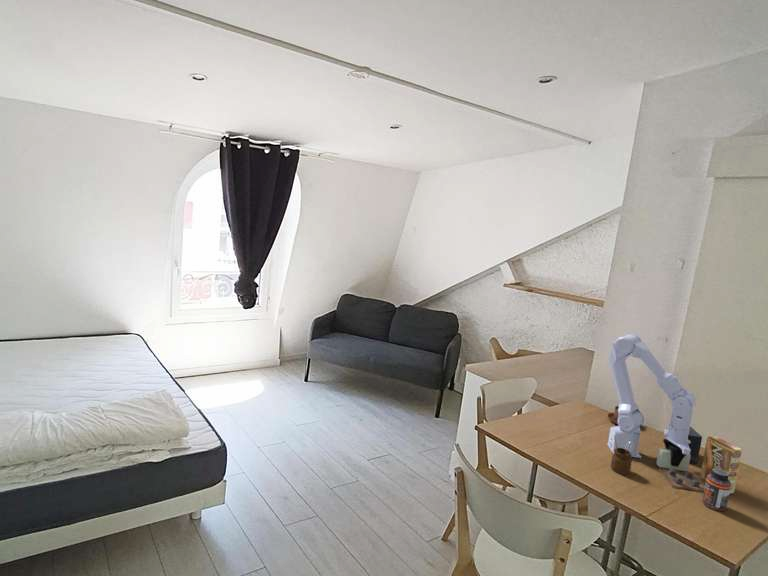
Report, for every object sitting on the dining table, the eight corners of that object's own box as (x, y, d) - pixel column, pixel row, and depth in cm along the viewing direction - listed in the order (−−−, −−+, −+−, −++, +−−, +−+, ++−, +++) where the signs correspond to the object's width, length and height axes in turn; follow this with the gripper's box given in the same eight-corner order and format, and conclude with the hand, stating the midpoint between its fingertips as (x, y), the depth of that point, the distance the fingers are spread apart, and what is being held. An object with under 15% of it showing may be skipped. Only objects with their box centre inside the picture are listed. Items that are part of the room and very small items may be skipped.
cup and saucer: (621, 415, 196) (623, 403, 195) (645, 428, 185) (647, 414, 184) (600, 418, 192) (602, 404, 191) (623, 430, 181) (625, 416, 180)
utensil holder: (631, 476, 146) (637, 443, 144) (611, 472, 147) (616, 439, 146) (627, 467, 151) (632, 435, 149) (607, 463, 153) (612, 431, 151)
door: (659, 467, 151) (662, 451, 150) (656, 463, 154) (659, 447, 153) (687, 471, 150) (690, 455, 149) (684, 467, 152) (687, 452, 151)
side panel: (672, 487, 141) (673, 479, 141) (658, 470, 151) (660, 463, 150) (713, 493, 139) (714, 486, 138) (697, 476, 149) (698, 469, 148)
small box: (698, 464, 157) (703, 436, 156) (679, 461, 158) (683, 434, 157) (685, 449, 167) (689, 424, 166) (666, 446, 169) (670, 421, 167)
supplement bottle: (696, 499, 135) (703, 465, 133) (714, 499, 136) (721, 466, 134) (712, 512, 129) (719, 477, 127) (731, 512, 130) (738, 477, 128)
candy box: (734, 493, 140) (743, 449, 137) (724, 494, 139) (732, 450, 136) (708, 477, 148) (716, 435, 146) (698, 478, 147) (706, 436, 145)
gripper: (703, 438, 142) (695, 476, 144) (681, 419, 156) (675, 454, 158) (679, 435, 143) (672, 473, 145) (660, 416, 157) (654, 451, 159)
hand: (672, 463), depth 151 cm, fingers closed on door, 2 cm apart
